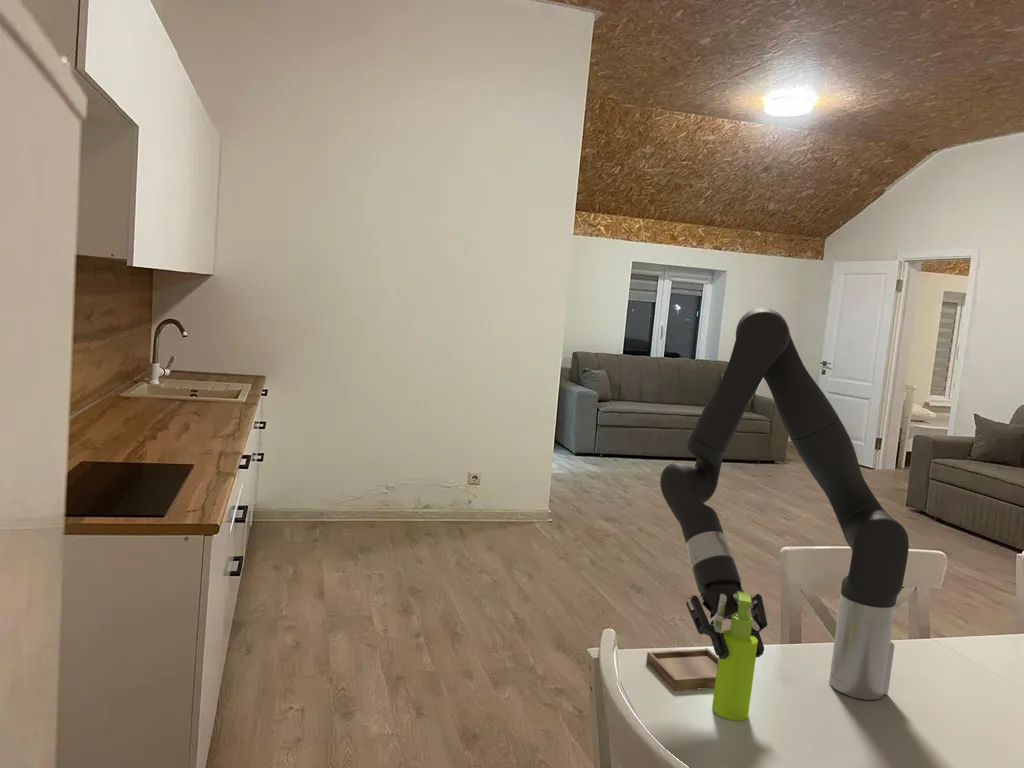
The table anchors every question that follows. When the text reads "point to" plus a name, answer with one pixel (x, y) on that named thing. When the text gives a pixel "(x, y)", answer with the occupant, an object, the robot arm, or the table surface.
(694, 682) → the soap tray
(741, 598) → the soap dispenser
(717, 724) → the table surface
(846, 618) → the robot arm
